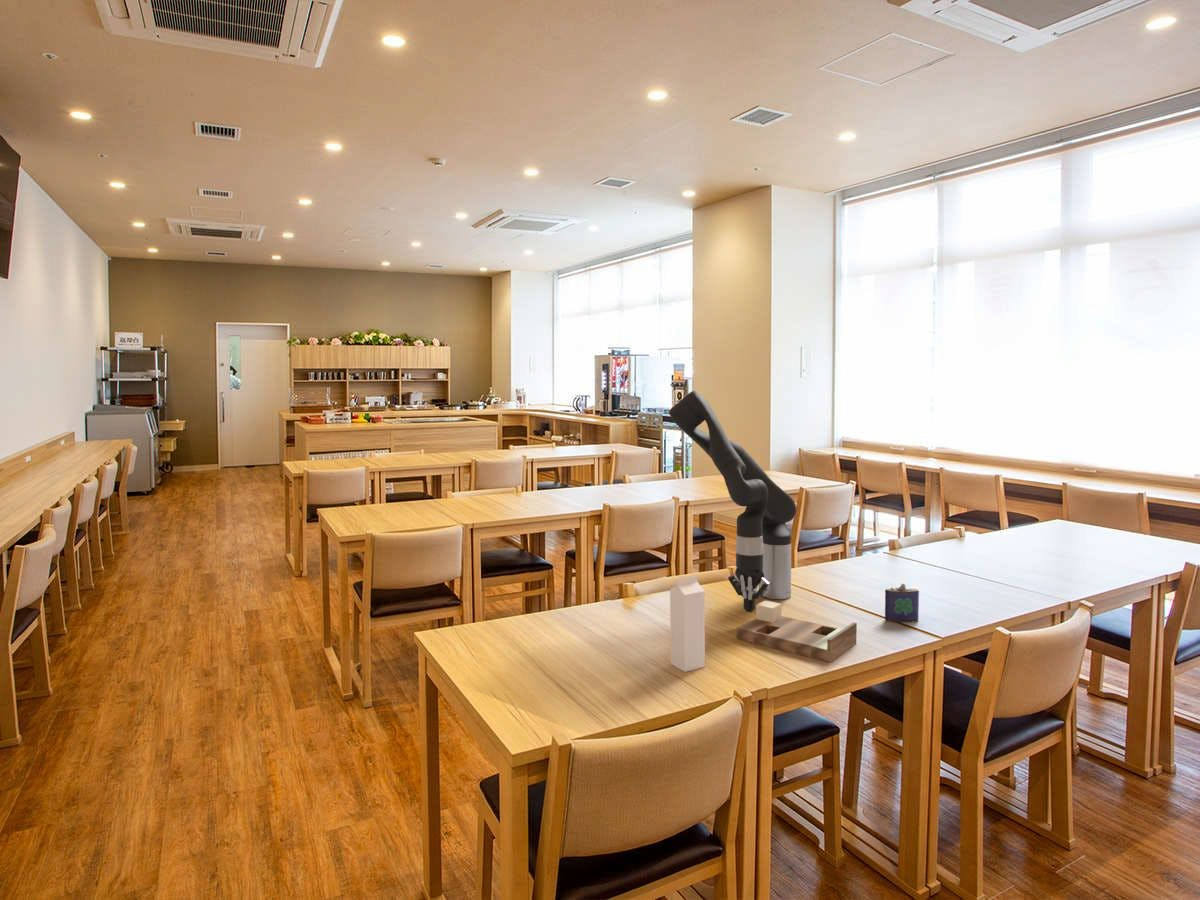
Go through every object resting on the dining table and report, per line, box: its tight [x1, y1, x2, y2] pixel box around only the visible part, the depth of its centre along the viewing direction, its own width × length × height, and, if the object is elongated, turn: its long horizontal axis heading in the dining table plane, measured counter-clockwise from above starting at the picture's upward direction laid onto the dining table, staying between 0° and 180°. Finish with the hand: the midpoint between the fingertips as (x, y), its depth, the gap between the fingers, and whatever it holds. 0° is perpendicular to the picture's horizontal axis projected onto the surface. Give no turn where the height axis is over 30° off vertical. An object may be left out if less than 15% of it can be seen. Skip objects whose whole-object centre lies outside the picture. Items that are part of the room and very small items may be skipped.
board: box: [736, 615, 858, 663], centre depth 193 cm, size 26×16×6 cm, turn 49°
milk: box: [669, 575, 706, 673], centre depth 177 cm, size 6×6×22 cm
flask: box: [884, 583, 920, 623], centre depth 206 cm, size 9×3×11 cm, turn 88°
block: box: [755, 600, 782, 623], centre depth 202 cm, size 5×5×4 cm
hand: (749, 611), depth 206 cm, fingers closed
